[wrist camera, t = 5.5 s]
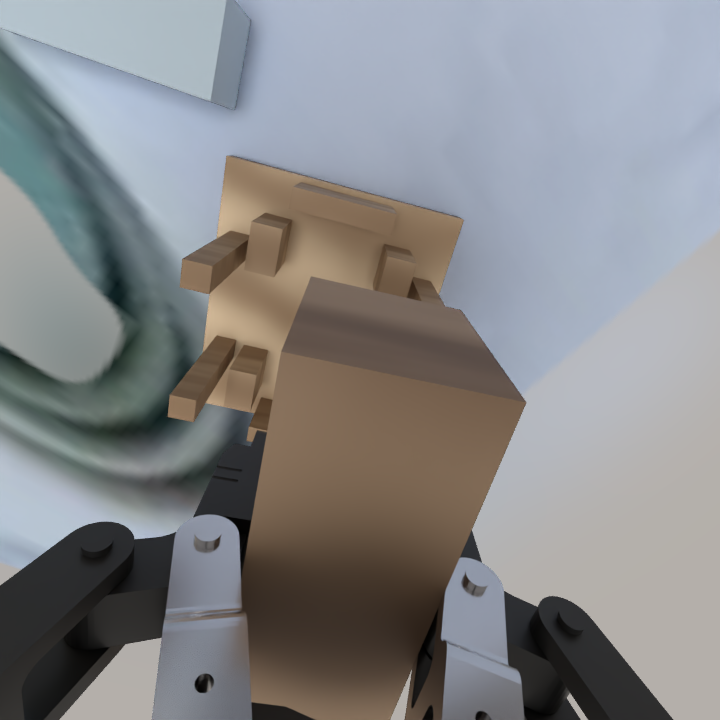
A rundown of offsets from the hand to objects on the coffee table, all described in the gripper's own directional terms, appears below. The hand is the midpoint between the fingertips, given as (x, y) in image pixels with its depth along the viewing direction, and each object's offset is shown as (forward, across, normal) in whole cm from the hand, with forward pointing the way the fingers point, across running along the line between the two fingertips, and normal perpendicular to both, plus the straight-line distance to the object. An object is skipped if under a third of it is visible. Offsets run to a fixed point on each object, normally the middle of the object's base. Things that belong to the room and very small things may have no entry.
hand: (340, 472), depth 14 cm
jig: (+16, +2, 0) cm, 16 cm away
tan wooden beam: (0, 0, 0) cm, 0 cm away
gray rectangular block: (+16, +13, -12) cm, 24 cm away
